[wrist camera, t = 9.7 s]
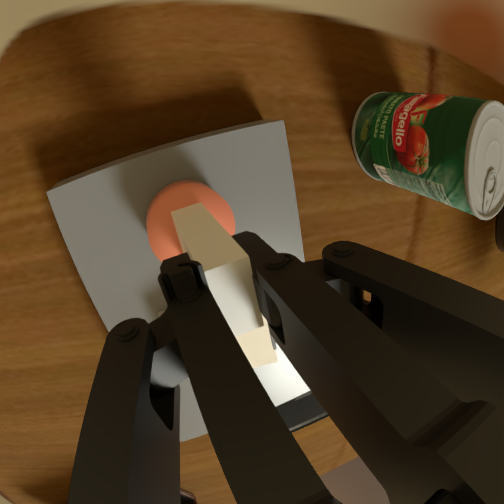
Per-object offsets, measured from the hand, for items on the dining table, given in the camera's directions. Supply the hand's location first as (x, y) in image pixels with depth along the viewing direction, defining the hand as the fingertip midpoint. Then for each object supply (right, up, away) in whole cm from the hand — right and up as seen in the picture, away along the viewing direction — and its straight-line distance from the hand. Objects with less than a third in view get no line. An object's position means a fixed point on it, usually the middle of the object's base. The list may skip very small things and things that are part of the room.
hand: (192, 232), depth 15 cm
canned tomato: (+14, +9, +9) cm, 19 cm away
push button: (-2, +2, +4) cm, 5 cm away
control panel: (-1, -5, +9) cm, 10 cm away
